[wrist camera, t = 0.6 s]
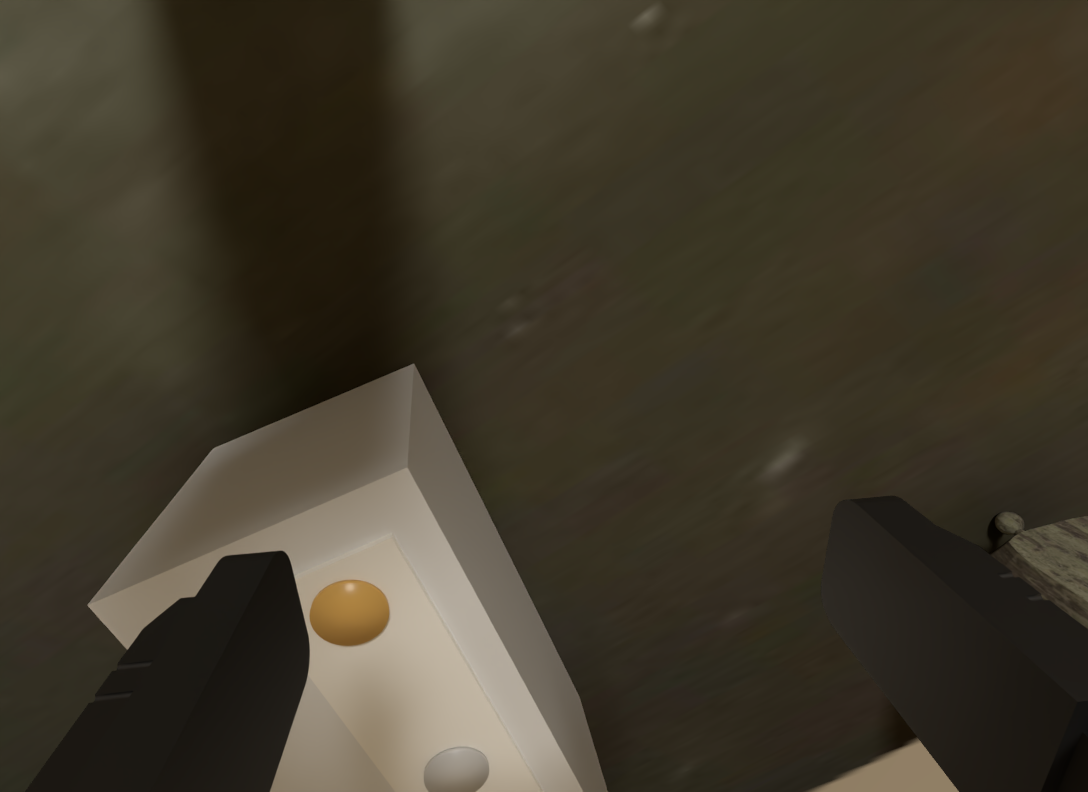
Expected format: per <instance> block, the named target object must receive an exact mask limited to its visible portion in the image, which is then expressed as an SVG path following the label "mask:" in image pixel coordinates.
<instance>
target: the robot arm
mask: <svg viewBox="0 0 1088 792" xmlns="http://www.w3.org/2000/svg"><path fill="white" fill-rule="evenodd" d="M821 595H822V601H823V606H824V609H825V612H826V615H827V617H828V619H829V621H830V623H831V625H832V626H833V628H834V629H835V630H836V632H837V633H838V634H839V636H840V637H841V638H842V640H843V641H844V642H845V643H846V645H847V646H848V647H849V649H850V650H851V651H852V653H853V654H854V655H855V657H856V658H857V659H858V660H859V662H860V663H861V664H862V666H863V667H864V668H865V670H866V671H867V672H868V673H869V675H870V676H871V677H872V679H873V680H874V681H875V683H876V684H877V685H878V686H879V688H880V689H881V690H882V692H883V693H884V694H885V696H886V697H887V698H888V700H889V701H890V702H891V703H892V705H893V706H894V707H895V709H896V710H897V711H898V713H899V714H900V715H901V716H902V718H903V719H904V720H905V722H906V723H907V724H908V726H909V727H910V728H911V730H912V731H913V732H914V733H915V735H916V736H917V737H918V739H919V740H920V741H921V743H922V744H923V745H924V746H925V747H926V749H927V750H928V752H929V753H930V754H931V755H932V757H933V758H934V759H935V761H936V762H937V763H938V765H939V766H940V767H941V769H942V770H943V771H944V773H945V774H946V775H947V776H948V778H949V779H950V780H951V782H952V783H953V784H954V786H955V787H956V788H957V789H958V791H959V792H1088V629H1087V628H1086V627H1084V626H1083V625H1082V624H1080V623H1079V622H1078V621H1076V620H1075V619H1074V618H1073V617H1071V616H1070V615H1069V614H1067V613H1066V612H1065V611H1063V610H1062V609H1061V608H1059V607H1058V606H1057V605H1055V604H1054V603H1053V602H1052V601H1050V600H1043V598H1042V596H1041V593H1040V592H1038V591H1037V590H1036V589H1034V588H1033V587H1032V586H1031V585H1029V584H1028V583H1027V582H1025V581H1024V580H1023V579H1021V578H1020V577H1014V576H1013V574H1012V571H1011V570H1010V569H1008V568H1007V567H1006V566H1004V565H1003V564H1002V563H1000V562H999V561H998V560H996V559H995V558H994V557H992V556H991V555H990V554H989V553H987V552H986V551H985V550H983V549H982V548H981V547H979V546H978V545H975V544H973V543H971V542H969V541H967V540H965V539H963V538H961V537H959V536H957V535H955V534H953V533H951V532H949V531H947V530H945V529H942V528H940V527H938V526H936V525H934V524H933V523H932V522H931V521H929V520H928V519H927V518H926V517H924V516H923V515H922V514H921V513H919V512H918V511H917V510H915V509H914V508H913V507H912V506H910V505H909V504H908V503H907V502H905V501H904V500H902V499H901V498H899V497H896V496H883V497H872V498H862V499H851V500H843V501H841V502H839V503H838V504H837V506H836V507H835V510H834V512H833V517H832V523H831V529H830V534H829V540H828V546H827V552H826V558H825V564H824V570H823V576H822V582H821ZM309 661H310V645H309V636H308V632H307V627H306V623H305V619H304V615H303V611H302V607H301V603H300V598H299V594H298V590H297V586H296V582H295V578H294V573H293V569H292V565H291V562H290V559H289V557H288V555H287V554H286V553H285V552H284V551H270V552H260V553H249V554H238V555H227V556H224V557H222V558H221V559H220V560H219V561H218V563H217V564H216V566H215V567H214V569H213V570H212V572H211V573H210V575H209V576H208V578H207V579H206V581H205V582H204V584H203V585H202V587H201V588H200V590H199V591H198V593H197V595H196V596H195V597H186V598H180V599H179V600H177V601H176V602H175V603H174V604H173V605H171V606H170V607H169V608H168V609H166V610H165V611H164V612H163V613H161V614H160V615H159V616H158V617H157V618H155V619H154V620H153V621H152V622H150V623H149V624H148V625H147V626H146V627H144V628H143V629H142V631H141V632H140V633H139V635H138V636H137V638H136V639H135V640H134V642H133V643H132V644H131V646H130V647H129V649H128V650H127V651H126V653H125V654H124V656H123V657H122V658H121V660H120V661H119V662H118V668H117V671H112V672H111V673H110V675H109V676H108V678H107V679H106V680H105V682H104V683H103V685H102V686H101V687H100V689H99V690H98V691H97V693H96V694H95V701H94V703H89V704H88V705H87V707H86V708H85V709H84V711H83V712H82V714H81V715H80V716H79V718H78V719H77V721H76V722H75V723H74V725H73V726H72V727H71V729H70V730H69V732H68V733H67V734H66V736H65V737H64V738H63V740H62V741H61V743H60V744H59V745H58V747H57V748H56V750H55V751H54V752H53V754H52V755H51V756H50V758H49V759H48V761H47V762H46V763H45V765H44V766H43V768H42V769H41V770H40V772H39V773H38V774H37V776H36V777H35V779H34V780H33V781H32V783H31V784H30V785H29V787H28V788H27V790H26V791H25V792H270V790H271V787H272V784H273V781H274V778H275V775H276V772H277V769H278V766H279V763H280V760H281V757H282V754H283V751H284V748H285V745H286V742H287V739H288V736H289V733H290V730H291V727H292V724H293V721H294V718H295V715H296V712H297V709H298V706H299V703H300V700H301V697H302V694H303V691H304V688H305V684H306V681H307V676H308V671H309Z"/></svg>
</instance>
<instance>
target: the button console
mask: <svg viewBox="0 0 1088 792" xmlns="http://www.w3.org/2000/svg"><path fill="white" fill-rule="evenodd" d="M270 551H284V552H285V553H286V554H287V555H288V557H289V559H290V562H291V565H292V569H293V573H294V578H295V582H296V586H297V590H298V594H299V598H300V603H301V607H302V611H303V615H304V619H305V623H306V627H307V632H308V636H309V645H310V661H309V671H308V676H307V681H306V684H305V688H304V691H303V694H302V697H301V700H300V703H299V706H298V709H297V712H296V715H295V718H294V721H293V724H292V727H291V730H290V733H289V736H288V739H287V742H286V745H285V748H284V751H283V754H282V757H281V760H280V763H279V766H278V769H277V772H276V775H275V778H274V781H273V784H272V787H271V790H270V792H608V791H607V788H606V784H605V781H604V778H603V774H602V771H601V768H600V764H599V761H598V758H597V754H596V751H595V748H594V744H593V741H592V738H591V734H590V731H589V728H588V724H587V721H586V718H585V714H584V711H583V707H582V704H581V701H580V697H579V695H578V693H577V691H576V689H575V687H574V685H573V683H572V681H571V679H570V677H569V675H568V673H567V671H566V669H565V667H564V665H563V663H562V661H561V659H560V657H559V655H558V653H557V651H556V649H555V647H554V645H553V643H552V641H551V638H550V636H549V634H548V632H547V630H546V628H545V626H544V624H543V622H542V620H541V618H540V616H539V614H538V612H537V610H536V608H535V606H534V604H533V602H532V600H531V598H530V596H529V594H528V592H527V590H526V588H525V586H524V584H523V582H522V580H521V578H520V576H519V574H518V572H517V570H516V568H515V566H514V564H513V562H512V560H511V558H510V556H509V554H508V552H507V550H506V548H505V546H504V544H503V542H502V540H501V538H500V536H499V534H498V532H497V530H496V528H495V526H494V524H493V522H492V520H491V518H490V516H489V513H488V511H487V509H486V507H485V505H484V503H483V501H482V499H481V497H480V495H479V493H478V491H477V489H476V487H475V485H474V483H473V481H472V479H471V477H470V475H469V473H468V471H467V469H466V467H465V465H464V463H463V461H462V459H461V457H460V455H459V453H458V451H457V449H456V447H455V445H454V443H453V441H452V439H451V437H450V435H449V433H448V431H447V429H446V427H445V425H444V423H443V421H442V419H441V417H440V415H439V413H438V411H437V409H436V407H435V405H434V403H433V401H432V399H431V397H430V395H429V393H428V391H427V389H426V386H425V384H424V382H423V380H422V378H421V376H420V374H419V372H418V370H417V368H416V366H415V364H411V365H409V366H407V367H404V368H402V369H400V370H397V371H395V372H393V373H390V374H388V375H385V376H383V377H381V378H378V379H376V380H374V381H371V382H369V383H367V384H364V385H362V386H359V387H357V388H355V389H352V390H350V391H348V392H345V393H343V394H341V395H338V396H336V397H333V398H331V399H329V400H326V401H324V402H322V403H319V404H317V405H315V406H312V407H310V408H307V409H305V410H303V411H300V412H298V413H296V414H293V415H291V416H289V417H286V418H284V419H281V420H279V421H277V422H274V423H272V424H270V425H267V426H265V427H263V428H260V429H258V430H255V431H253V432H251V433H248V434H246V435H244V436H241V437H239V438H237V439H234V440H232V441H229V442H227V443H225V444H222V445H220V446H218V447H215V448H213V449H212V451H211V452H210V453H209V454H208V456H207V457H206V458H205V459H204V461H203V462H202V463H201V464H200V466H199V467H198V468H197V469H196V471H195V472H194V473H193V474H192V476H191V477H190V478H189V479H188V481H187V482H186V483H185V484H184V485H183V487H182V488H181V489H180V490H179V492H178V493H177V494H176V495H175V497H174V498H173V499H172V500H171V502H170V503H169V504H168V505H167V507H166V508H165V509H164V510H163V512H162V513H161V514H160V515H159V517H158V518H157V519H156V520H155V522H154V523H153V524H152V525H151V527H150V528H149V529H148V530H147V532H146V533H145V534H144V535H143V537H142V538H141V539H140V540H139V542H138V543H137V544H136V545H135V546H134V548H133V549H132V550H131V551H130V553H129V554H128V555H127V556H126V558H125V559H124V560H123V561H122V563H121V564H120V565H119V566H118V568H117V569H116V570H115V571H114V573H113V574H112V575H111V576H110V578H109V579H108V580H107V581H106V583H105V584H104V585H103V586H102V588H101V589H100V590H99V591H98V593H97V594H96V595H95V596H94V598H93V599H92V600H91V601H90V603H89V604H88V607H89V608H90V609H91V610H92V611H93V612H94V613H95V614H96V615H97V617H98V618H99V619H100V620H101V621H102V622H103V623H104V624H105V625H106V627H107V628H108V629H109V630H110V631H111V632H112V633H113V634H114V635H115V637H116V638H117V639H118V640H119V641H120V642H121V643H122V644H123V645H124V647H125V648H126V649H127V650H128V649H129V647H130V646H131V644H132V643H133V642H134V640H135V639H136V638H137V636H138V635H139V633H140V632H141V631H142V629H143V628H144V627H146V626H147V625H148V624H149V623H150V622H152V621H153V620H154V619H155V618H157V617H158V616H159V615H160V614H161V613H163V612H164V611H165V610H166V609H168V608H169V607H170V606H171V605H173V604H174V603H175V602H176V601H177V600H179V599H180V598H186V597H195V596H196V595H197V593H198V591H199V590H200V588H201V587H202V585H203V584H204V582H205V581H206V579H207V578H208V576H209V575H210V573H211V572H212V570H213V569H214V567H215V566H216V564H217V563H218V561H219V560H220V559H221V558H222V557H224V556H227V555H238V554H249V553H260V552H270Z"/></svg>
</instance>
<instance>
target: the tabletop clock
mask: <svg viewBox="0 0 1088 792" xmlns="http://www.w3.org/2000/svg"><path fill="white" fill-rule="evenodd" d="M995 525H996V527H997V529H998V530H999V531H1001V532H1002V533H1004V534H1007V535H1016V536H1014V537H1013V538H1011V539H1010V540H1009V541H1007V542H1006V543H1005V544H1003V545H1002V546H1001V547H999V548H998V549H997V550H995V551H994V552H993V553H991V554H990V555H991V556H992V557H994V558H995V559H996V560H998V561H999V562H1000V563H1002V564H1003V565H1004V566H1006V567H1007V568H1008V569H1010V570H1011V571H1012V574H1013V576H1014V577H1020V578H1021V579H1023V580H1024V581H1025V582H1027V583H1028V584H1029V585H1031V586H1032V587H1033V588H1034V589H1036V590H1037V591H1038V592H1040V593H1041V596H1042V598H1043V600H1050V601H1052V602H1053V603H1054V604H1055V605H1057V606H1058V607H1059V608H1061V609H1062V610H1063V611H1065V612H1066V613H1067V614H1069V615H1070V616H1071V617H1073V618H1074V619H1075V620H1076V621H1078V622H1079V623H1080V624H1082V625H1083V626H1084V627H1086V628H1087V629H1088V516H1084V517H1078V518H1073V519H1068V520H1064V521H1060V522H1057V523H1053V524H1049V525H1045V526H1042V527H1038V528H1034V529H1030V530H1027V531H1024V530H1023V528H1024V521H1023V519H1022V518H1021V517H1020V516H1019V515H1018V514H1016V513H1014V512H1009V511H1007V512H1002V513H1000V514H998V515H997V516H996V518H995Z"/></svg>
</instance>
